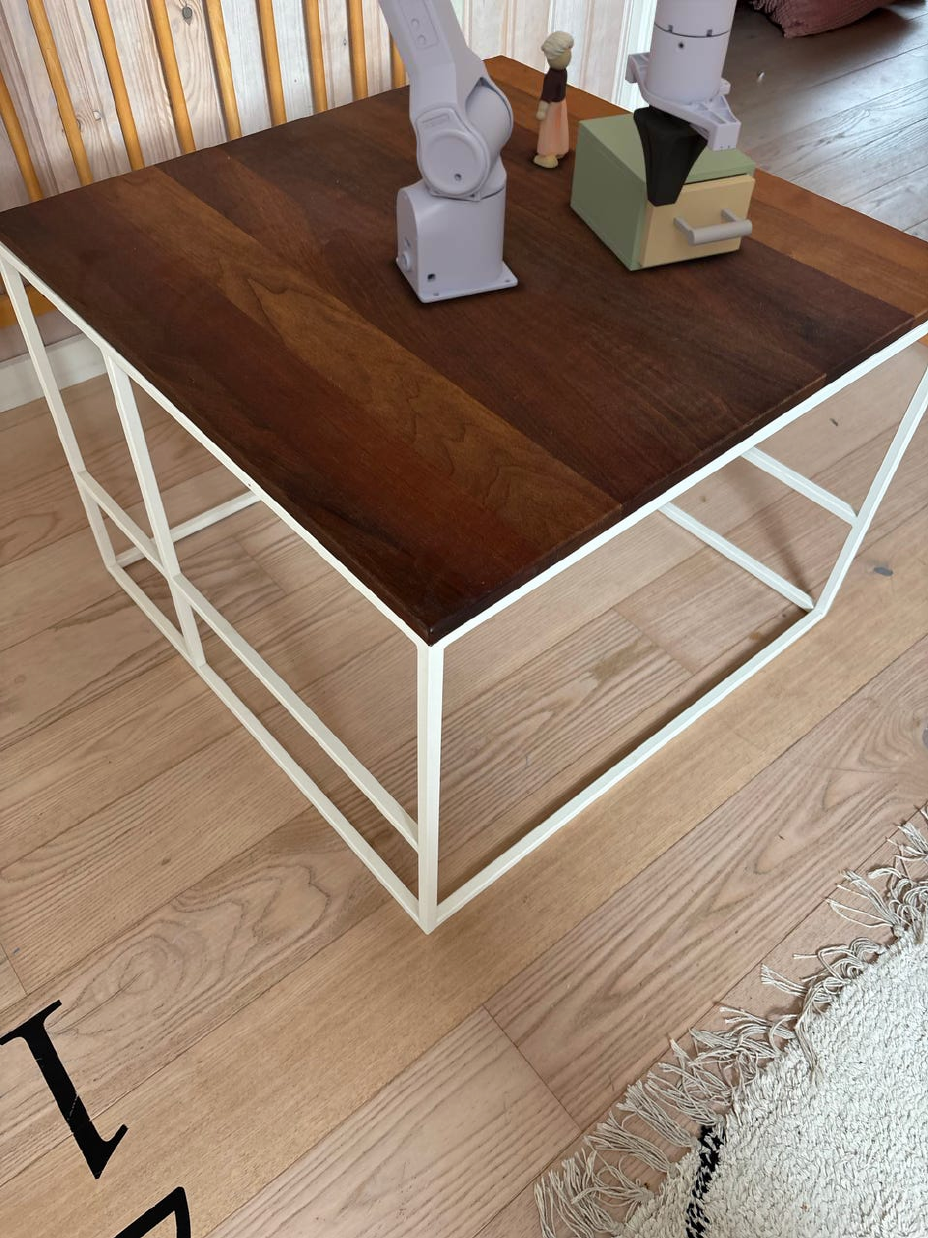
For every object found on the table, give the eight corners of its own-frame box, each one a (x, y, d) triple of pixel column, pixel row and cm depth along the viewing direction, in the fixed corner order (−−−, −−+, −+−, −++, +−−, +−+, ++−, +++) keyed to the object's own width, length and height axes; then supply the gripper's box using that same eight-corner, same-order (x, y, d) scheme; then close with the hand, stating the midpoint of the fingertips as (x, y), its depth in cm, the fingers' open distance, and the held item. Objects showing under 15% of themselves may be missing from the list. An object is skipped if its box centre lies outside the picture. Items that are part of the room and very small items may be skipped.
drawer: (761, 270, 93) (780, 199, 88) (664, 289, 91) (677, 218, 86) (675, 191, 104) (688, 124, 98) (585, 207, 101) (593, 138, 96)
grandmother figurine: (563, 173, 108) (574, 46, 98) (528, 170, 108) (536, 42, 99) (572, 143, 113) (584, 19, 103) (538, 140, 113) (547, 16, 104)
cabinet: (735, 250, 97) (756, 163, 91) (630, 271, 95) (644, 181, 88) (668, 189, 106) (683, 104, 99) (570, 206, 103) (578, 120, 96)
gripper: (792, 52, 70) (747, 234, 81) (691, -14, 79) (662, 158, 89) (705, 64, 69) (671, 248, 79) (612, -5, 77) (592, 169, 88)
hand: (661, 201), depth 84 cm, fingers closed
